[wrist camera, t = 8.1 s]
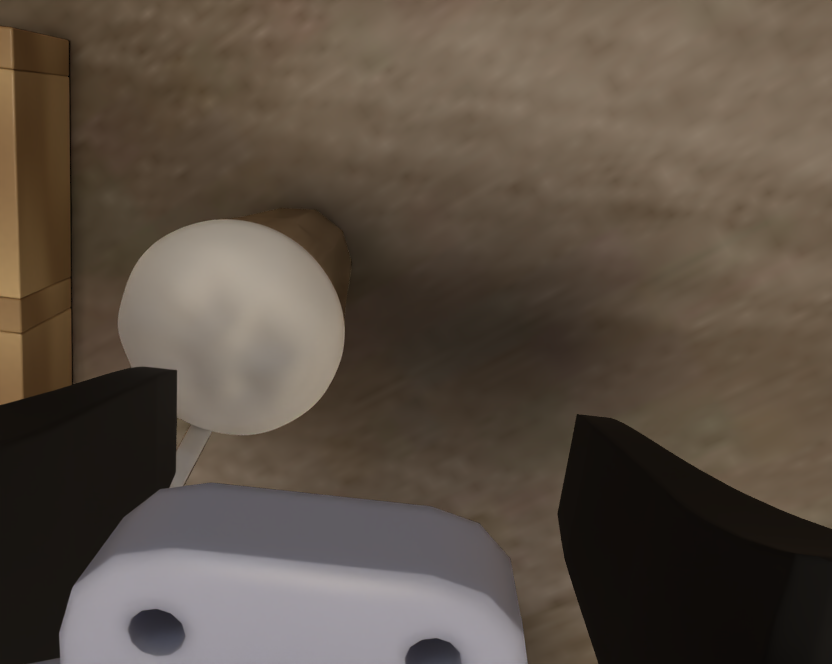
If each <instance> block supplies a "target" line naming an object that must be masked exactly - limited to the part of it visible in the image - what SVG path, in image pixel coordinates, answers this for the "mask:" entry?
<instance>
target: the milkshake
mask: <svg viewBox="0 0 832 664" xmlns="http://www.w3.org/2000/svg"><path fill="white" fill-rule="evenodd" d="M351 268H352V260H351V257H350V254H349V251H348V247H347V244H346V241H345V237H344V234H343V231H342V230H341V229H340V228H339V227H337V226H336V225H335V224H333V223H332V222H331V221H330V220H328V219H327V218H326V217H325V216H323V215H322V214H321V213H320V212H318V211H317V210H315V209H294V208H278V209H274V210H269V211H264V212H260V213H256V214H251V215H247V216H243V217H234V218H225V219H216V220H209V221H203V222H199V223H195V224H191V225H188V226H185V227H182V228H180V229H178V230H175V231H173V232H171V233H169V234H168V235H166V236H164V237H162V238H161V239H160V240H158V241H157V242H155V243H154V244H153V245H152V246H151V247H150V248H149V249H148V250H147V251H146V252H145V253H144V254H143V255H142V256H141V258H140V259H139V260H138V262H137V263H136V265H135V266H134V268H133V270H132V272H131V274H130V277H129V279H128V282H127V285H126V288H125V291H124V294H123V297H122V301H121V305H120V309H119V315H118V332H119V336H120V340H121V343H122V346H123V348H124V351H125V353H126V356H127V358H128V360H129V363H130V365H131V367H132V368H133V367H142V366H145V367H154V368H163V369H172V370H177V417H178V418H179V419H181V420H183V421H185V422H187V423H190V424H191V425H190V427H189V428H188V430H187V432H186V434H185V436H184V437H183V439H182V441H181V443H180V445H179V446H178V448H177V450H176V474H175V476H174V478H173V480H172V483H171V485H170V487H169V488H173V487H181V486H184V485H185V483H186V481H187V480H188V478H189V476H190V474H191V472H192V470H193V468H194V466H195V464H196V462H197V460H198V458H199V456H200V454H201V452H202V451H203V449H204V447H205V445H206V443H207V441H208V439H209V437H210V435H211V433H212V431H213V432H218V433H224V434H232V435H254V434H260V433H264V432H268V431H271V430H274V429H276V428H279V427H281V426H283V425H286V424H288V423H290V422H291V421H293V420H295V419H297V418H298V417H300V416H301V415H303V414H304V413H305V412H307V411H308V410H309V409H310V408H312V407H313V406H314V405H315V404H316V403H317V402H318V401H319V400H320V398H321V397H322V396H323V394H324V393H325V392H326V390H327V388H328V387H329V385H330V383H331V381H332V380H333V378H334V376H335V373H336V371H337V369H338V366H339V364H340V361H341V357H342V353H343V348H344V338H345V328H344V327H345V307H346V300H347V293H348V287H349V281H350V274H351Z"/></svg>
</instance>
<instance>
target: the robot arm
mask: <svg viewBox="0 0 832 664" xmlns="http://www.w3.org/2000/svg"><path fill="white" fill-rule="evenodd" d="M176 428H177V370H172V369H163V368H154V367H145V366H142V367H133V368H128V369H124V370H120V371H116V372H113V373H109V374H106V375H102V376H99V377H96V378H92V379H89V380H86V381H83V382H80V383H76V384H73V385H70V386H67V387H63V388H60V389H57V390H53V391H50V392H46V393H42V394H39V395H35V396H32V397H28V398H24V399H21V400H17V401H13V402H10V403H6V404H2V405H0V664H528V662H527V654H526V646H525V639H524V632H523V624H522V618H521V615H520V609H519V604H518V598H517V593H516V587H515V581H514V576H513V570H512V565H511V559H510V558H509V556H508V555H507V554H506V553H505V552H504V551H503V550H502V548H501V547H500V546H499V545H498V544H497V543H496V542H495V540H494V539H493V538H492V537H491V536H490V535H489V534H488V532H487V531H486V530H485V529H484V528H483V527H482V526H481V524H480V523H477V522H474V521H471V520H468V519H466V518H463V517H460V516H457V515H454V514H452V513H449V512H446V511H443V510H440V509H437V508H435V507H432V506H424V505H414V504H405V503H396V502H386V501H377V500H368V499H359V498H349V497H340V496H331V495H321V494H312V493H303V492H294V491H284V490H275V489H266V488H257V487H247V486H238V485H229V484H219V483H204V484H196V485H188V486H181V487H173V488H169V487H170V485H171V483H172V480H173V478H174V476H175V474H176ZM558 520H559V527H560V534H561V541H562V546H563V552H564V558H565V562H566V565H567V568H568V572H569V575H570V578H571V581H572V584H573V587H574V590H575V594H576V597H577V600H578V603H579V606H580V609H581V612H582V615H583V618H584V621H585V624H586V627H587V630H588V633H589V636H590V639H591V642H592V645H593V648H594V651H595V654H596V657H597V660H598V664H832V529H830V528H827V527H824V526H822V525H819V524H816V523H813V522H810V521H808V520H805V519H802V518H799V517H797V516H794V515H792V514H789V513H787V512H784V511H782V510H779V509H777V508H775V507H773V506H771V505H768V504H766V503H764V502H762V501H759V500H757V499H755V498H753V497H751V496H748V495H746V494H744V493H742V492H740V491H738V490H736V489H734V488H732V487H730V486H728V485H726V484H725V483H723V482H721V481H719V480H717V479H716V478H714V477H712V476H710V475H708V474H706V473H705V472H703V471H701V470H699V469H698V468H696V467H694V466H693V465H691V464H689V463H687V462H686V461H684V460H683V459H681V458H679V457H678V456H676V455H674V454H673V453H671V452H670V451H668V450H666V449H665V448H663V447H662V446H660V445H658V444H657V443H655V442H654V441H652V440H650V439H649V438H647V437H646V436H644V435H642V434H641V433H639V432H638V431H636V430H634V429H633V428H631V427H629V426H627V425H625V424H624V423H622V422H620V421H617V420H615V419H612V418H606V417H597V416H588V415H579V414H577V417H576V422H575V427H574V432H573V438H572V443H571V448H570V453H569V458H568V463H567V468H566V473H565V478H564V484H563V489H562V494H561V499H560V504H559V509H558Z"/></svg>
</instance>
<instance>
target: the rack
mask: <svg viewBox="0 0 832 664" xmlns="http://www.w3.org/2000/svg"><path fill="white" fill-rule="evenodd" d="M68 76H69V42H68V40H66V39H62V38H57V37H53V36H48V35H44V34H39V33H35V32H30V31H26V30H22V29H17V28H13V27H6V26H0V405H2V404H6V403H10V402H13V401H17V400H21V399H24V398H28V397H32V396H35V395H39V394H42V393H46V392H50V391H53V390H57V389H60V388H63V387H67V386H70V385H72V345H71V308H70V307H71V278H69V277H70V276H71V229H70V118H69V77H68Z"/></svg>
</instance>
